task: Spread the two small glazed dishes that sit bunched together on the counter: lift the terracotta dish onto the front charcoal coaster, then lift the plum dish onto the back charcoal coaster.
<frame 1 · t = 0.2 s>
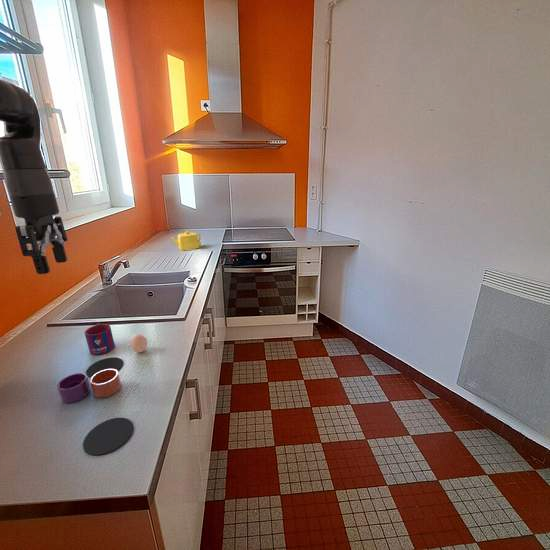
hand: (53, 267, 67), 31 cm above the worktop, tool pointing down, fingers open, 8 cm apart
mug: (103, 346, 93), on the worktop
egg: (140, 352, 90), on the worktop
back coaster: (105, 367, 82), on the worktop
clay dish: (107, 390, 74), on the worktop
teapot: (187, 248, 211), on the worktop
front coaster: (109, 435, 61), on the worktop
plum dish: (76, 394, 73), on the worktop
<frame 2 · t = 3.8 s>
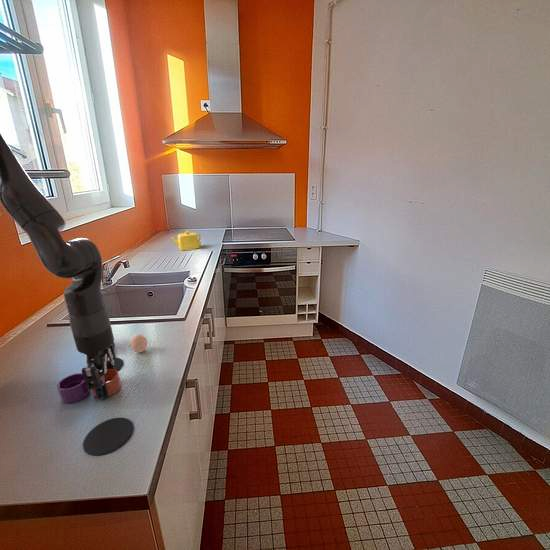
hand: (107, 387, 74), 1 cm above the worktop, tool pointing down, fingers closed on clay dish, 6 cm apart
clay dish: (107, 390, 74), on the worktop, touching gripper
everything else where it was.
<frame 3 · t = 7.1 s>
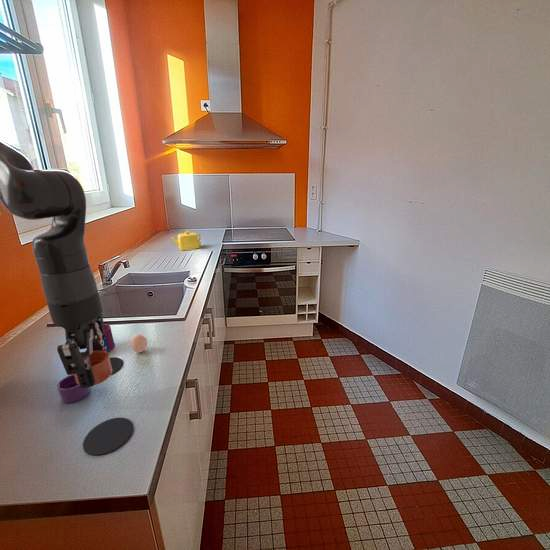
hand: (94, 374, 57), 14 cm above the worktop, tool pointing down, fingers closed on clay dish, 6 cm apart
clay dish: (95, 377, 57), point 14 cm above the worktop, touching gripper
everything else where it was.
when the fingers open (1 cm above the worktop, at t = 10.5 s): clay dish stays where it is, resting on front coaster.
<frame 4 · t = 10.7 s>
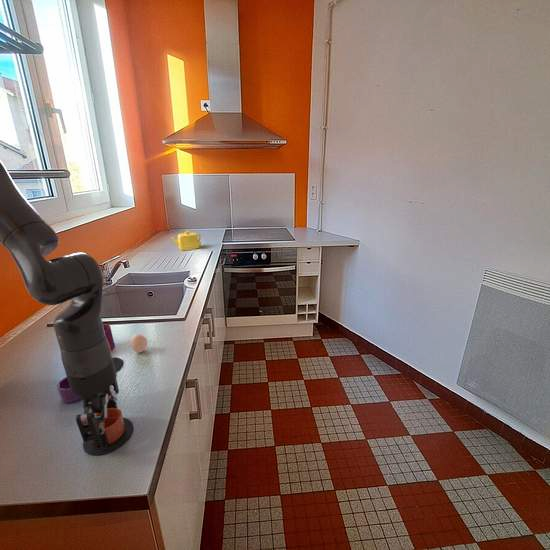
hand: (108, 432, 61), 1 cm above the worktop, tool pointing down, fingers open, 7 cm apart
clay dish: (109, 434, 61), resting on front coaster
everything else where it was.
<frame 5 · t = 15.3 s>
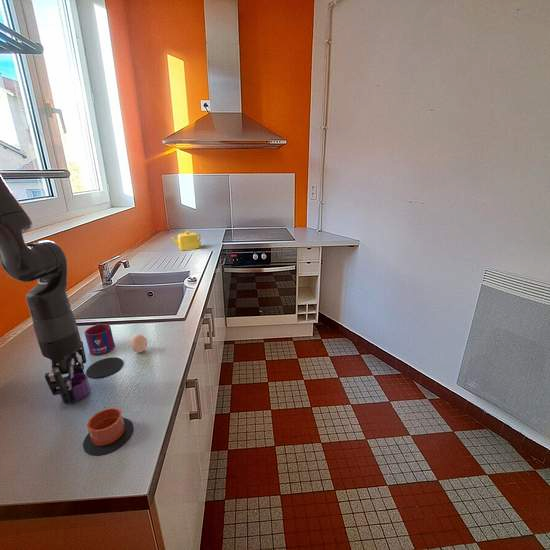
hand: (75, 392, 72), 1 cm above the worktop, tool pointing down, fingers closed on plum dish, 6 cm apart
plum dish: (76, 394, 73), on the worktop, touching gripper
everything else where it was.
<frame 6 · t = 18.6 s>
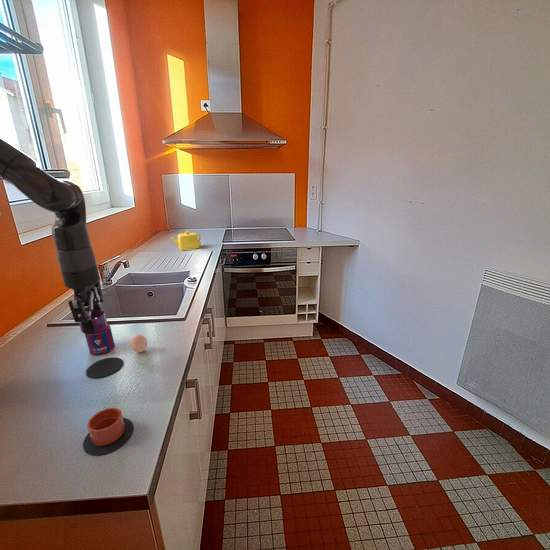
hand: (94, 326, 78), 13 cm above the worktop, tool pointing down, fingers closed on plum dish, 6 cm apart
plum dish: (95, 329, 78), point 12 cm above the worktop, touching gripper
everything else where it was.
when the fingers open (1 cm above the worktop, at t = 21.7 s): plum dish stays where it is, resting on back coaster.
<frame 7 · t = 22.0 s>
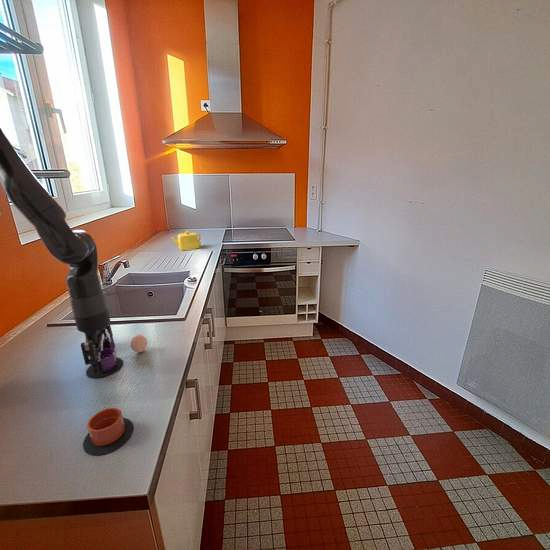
hand: (104, 363, 82), 1 cm above the worktop, tool pointing down, fingers open, 8 cm apart
plum dish: (105, 366, 82), resting on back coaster
everything else where it was.
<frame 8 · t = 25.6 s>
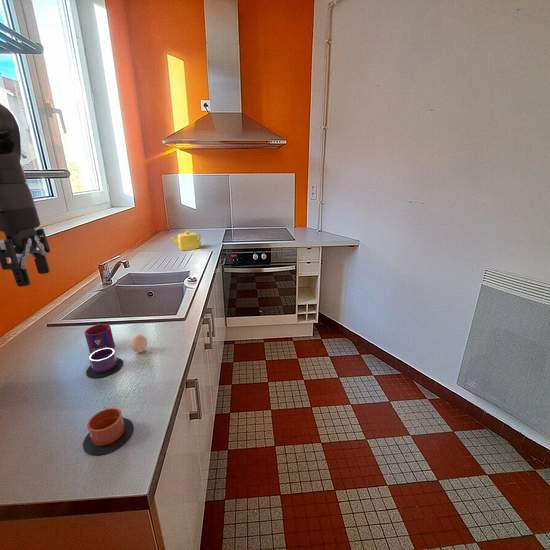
hand: (34, 279, 68), 28 cm above the worktop, tool pointing down, fingers open, 8 cm apart
nothing on the worktop moved.
at the end: clay dish 0.0 cm off-centre on the front coaster, point 0.3 cm above the front coaster's base; plum dish 0.0 cm off-centre on the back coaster, point 0.3 cm above the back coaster's base; plum dish tilted 0° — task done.
